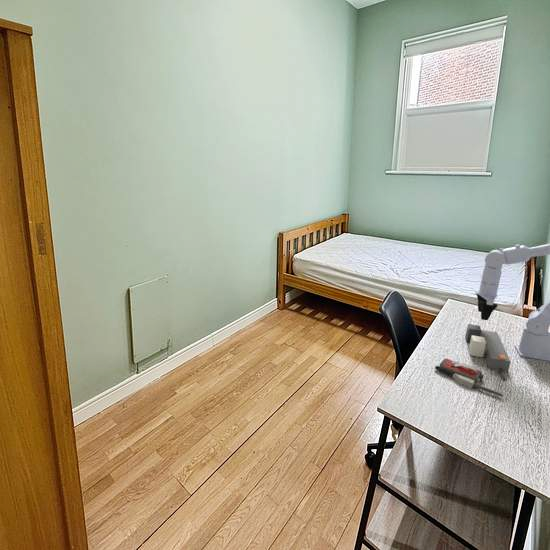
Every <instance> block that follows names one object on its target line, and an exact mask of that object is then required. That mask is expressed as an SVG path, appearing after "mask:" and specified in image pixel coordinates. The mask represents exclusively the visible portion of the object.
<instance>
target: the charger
mask: <svg viewBox="0 0 550 550" xmlns="http://www.w3.org/2000/svg"><path fill="white" fill-rule="evenodd" d="M487 350H488V349H487V346H486V341H485V339H484V337H479V336H473V335H472V336H471V340H470V343H469V346H468V352H469V356H472V357H473V356H474V357H479V358H483V357H484V353H487Z"/></svg>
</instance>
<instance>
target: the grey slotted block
mask: <svg viewBox="0 0 550 550" xmlns="http://www.w3.org/2000/svg"><path fill="white" fill-rule="evenodd" d="M472 335H473V336H479V337H484V339H485V341H486V346H487V349H488V350H487V353H484V354H483V356H484V358H485V360H486V363H487V366H488V368H489V370H494V371H495V370H496V371H499V373H500V375H501V378H502V380H503V381H506V380H507V378H506V375H505V372H507V373H508V372H509V370H510V365H511V359H510V357H509V355H508V353H507V350H506V348H505V346H504V344H503V341H502V340H501V337H500V335H499V333H498V332H497V331H492V330H486V329H485V330H484V329H481V326H480V325H477V324H470V323H468V324H467V327H466V333H465V337H464V339H465V342H466V343H467V344H470V340H471V336H472Z"/></svg>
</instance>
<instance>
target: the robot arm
mask: <svg viewBox="0 0 550 550" xmlns="http://www.w3.org/2000/svg"><path fill="white" fill-rule="evenodd" d="M548 255H550V243H546V244H541V245H537V246H533V247H528V246H526V245H525V244H524V245H523V244H522V245H521V244H519V243H518V244H515V246H512V247H507V248H504V247H500V248H499V250H498V249H493V250H491V251H490V252H488V253H487V255H486V256H484V257H485V258H484V262H485V264H484V268H483V270H482V272H483V273H482V276H481V282H480V286H479V290H475V292H474V293H475V295H476V296H477V297H476V298H477V310H478V312H479V313H480V319H481V320H483V321H489V320H490V319H489V318H490V317H491V315H492V313H493V312H494V311H495V310H496V309H497V307H498V303H495V299H496V298H497V297H498V289H499V285H500V280H501V277H502V269H503V265H505V266H506V265H508V266H509V265H514V264H520V263H526V262H528V261H529V260H531V258H534V257H542V256H548ZM549 328H550V299H549V300H548V301H547V302H546V303H545V304H543V305H540V307H538V309H535V310H532V311H530V313H528V318H527V321H526V324H525V325H524V327H523V330H522V334H521V337H520V341H519V344H515V345H514V347H515V349H516V351H517V352H518V354H519V357H525V358H531V359H534V360H535V359H536V360H542V361H548V362H550V332H549Z"/></svg>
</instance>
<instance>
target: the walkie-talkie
mask: <svg viewBox="0 0 550 550" xmlns="http://www.w3.org/2000/svg"><path fill="white" fill-rule="evenodd" d="M434 369H435V370H436V371H438V372H439V373H441V374H443V375H446V376H449V377H451V378H453V379H454V381H455V382H456V383H457V384H460V385H462V386H465V387H467V388H469V389H473V388H475V389H479V390H481V391H483V392H486V393H489V394H493V395H496V396H499V397H503V396H504V395H503V394H502V393H501V392H498V391H497V390H496V391H495V390H493V389H490V388H489V387H485V386H482V385H480V384H479V382H480V381H483V379H484V374H482V373H483V372H482V370H479V369H478V368H477V367H475V366H473V365H470V364H467V363H463V362H461V363H459V362H457V361H455V360H452V359H449V358H443V360H442V361H441V362H440V363H439V365H435V366H434Z"/></svg>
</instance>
